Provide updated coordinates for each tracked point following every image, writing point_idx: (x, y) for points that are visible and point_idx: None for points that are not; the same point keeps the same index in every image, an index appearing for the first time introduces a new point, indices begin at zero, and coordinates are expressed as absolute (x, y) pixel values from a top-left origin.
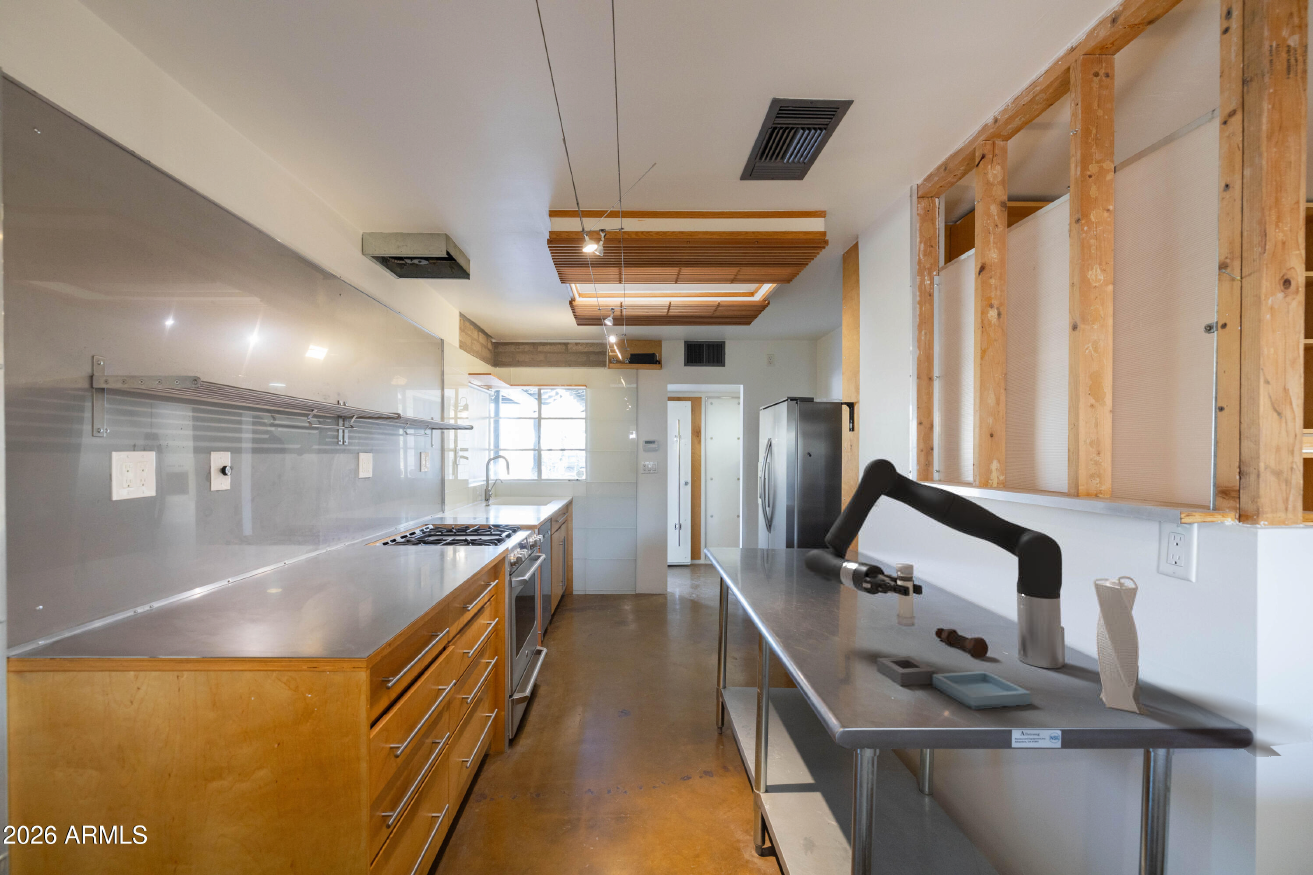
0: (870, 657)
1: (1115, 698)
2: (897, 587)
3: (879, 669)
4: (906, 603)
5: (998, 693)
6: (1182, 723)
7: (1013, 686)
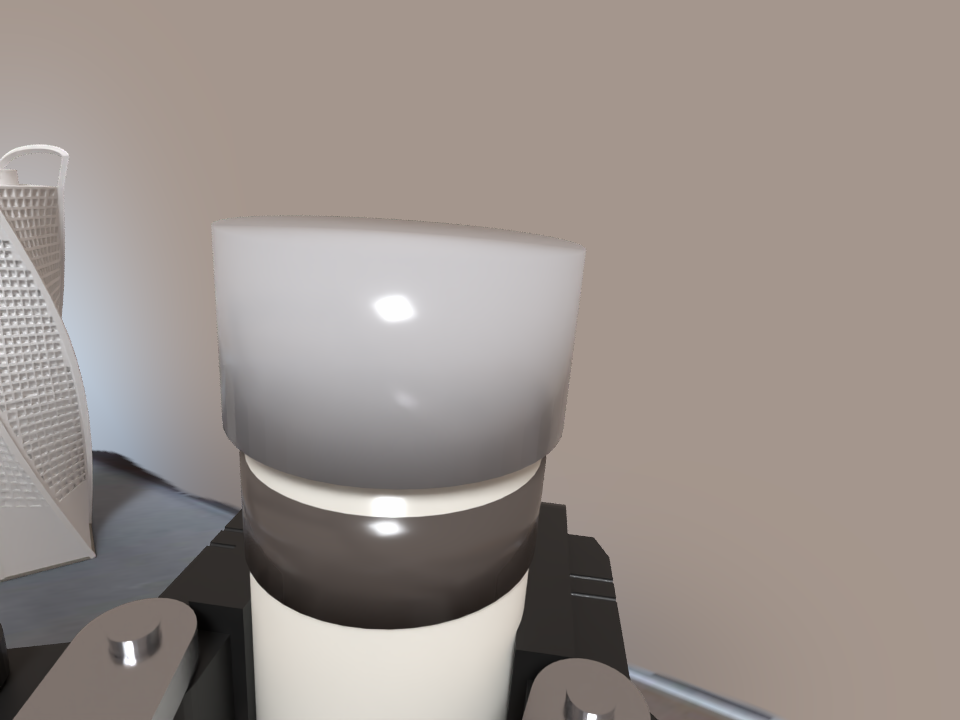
0: None
1: (82, 524)
2: (614, 617)
3: None
4: None
5: None
6: (108, 483)
7: None
